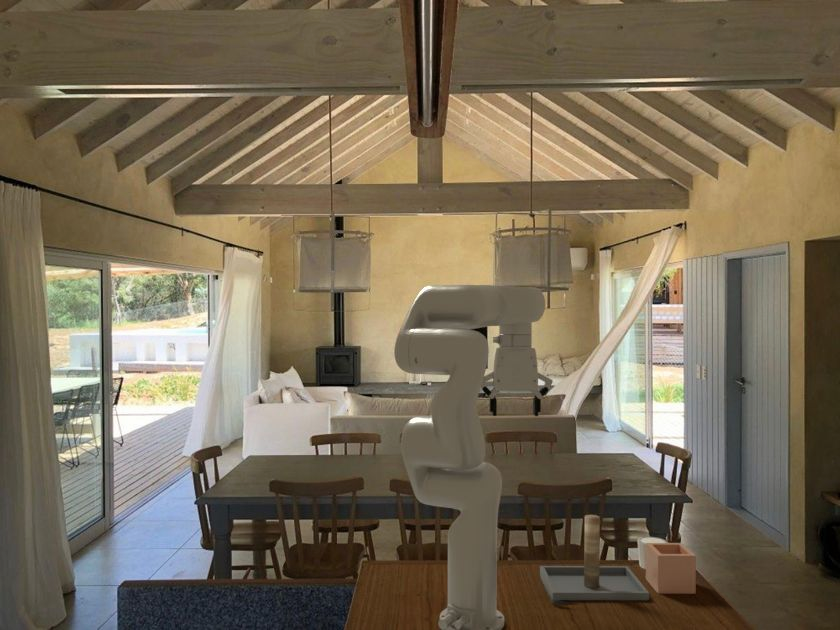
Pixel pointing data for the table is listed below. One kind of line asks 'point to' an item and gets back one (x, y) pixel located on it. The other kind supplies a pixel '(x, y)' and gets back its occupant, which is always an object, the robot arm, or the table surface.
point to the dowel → (591, 551)
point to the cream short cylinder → (642, 548)
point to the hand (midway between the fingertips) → (515, 415)
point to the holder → (670, 568)
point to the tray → (571, 587)
